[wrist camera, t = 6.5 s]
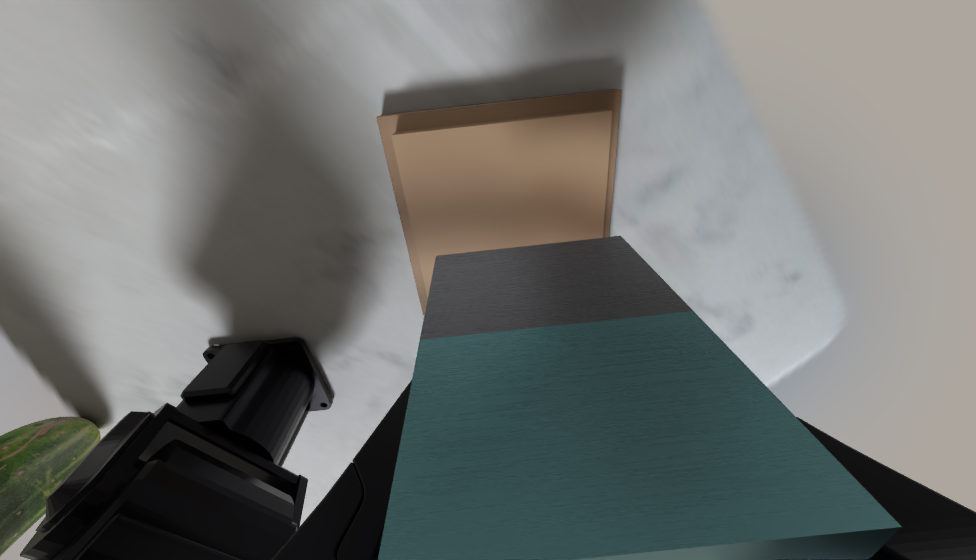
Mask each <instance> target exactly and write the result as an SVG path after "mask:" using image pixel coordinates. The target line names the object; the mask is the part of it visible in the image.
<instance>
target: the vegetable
mask: <svg viewBox="0 0 976 560" xmlns="http://www.w3.org/2000/svg"><path fill="white" fill-rule="evenodd" d="M99 441H100V431H99V429H98V428H97V426H96V425H95V424H94V423H92V422H91V421H89V420H87V419H84V418H80V417H58V418H51V419H46V420H42V421H38V422H34V423H31V424H28V425H25V426H22V427H20V428H18V429H15V430H13V431H10V432H8V433H6V434H4V435H2V436H0V556H1V555H2V554H3V553H4V552H5V551H6V550H7V549H8V548H9V547H10V546H11V545H12V544H13V543H14V542H15V541H16V540H17V539H18V538H19V537H21V536H22V535H23V534H24V533H25V532H26V531H27V530H28V529H29V528H30V527H31V526H32V525H33V524H34V523H35V522H37V520H39V518H41V517H42V516H43V515H44V514H45V513H46V498H47V497H48V496H49V495H50V494H51V493H52V492H53V491H54V490H55V489H56V487H57V486H58V485H59V484H60V483H61V482H62V481H63V480H64V479H65V478H66V476H67V475H68V474H69V473H70V472H71V471H72V470H73V469H74V468H75V467H76V466H77V464H78V463H79V462H80V461H81V460H82V459H83V458H84V457H85V456H86V455H87V454H88V453H89V452H90V450H91V449H92V448H93V447H94V446H95V445H96V444H97V443H98V442H99Z"/></svg>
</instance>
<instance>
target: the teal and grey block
mask: <svg viewBox="0 0 976 560" xmlns="http://www.w3.org/2000/svg"><path fill="white" fill-rule="evenodd" d="M900 528H901V525H900V524H899V523H898V522H897V521H896V520H895V519H894V518H893V517H892V516H891V515H890V514H889V513H888V512H887V511H886V510H885V509H884V508H883V507H882V506H881V505H880V504H879V503H878V502H877V501H876V500H875V499H874V498H873V497H872V495H871V494H870V493H869V492H868V491H867V490H866V489H865V488H864V487H863V486H862V485H861V484H860V483H859V482H858V481H857V480H856V479H855V478H854V477H853V476H852V475H851V474H850V473H849V472H848V471H847V470H846V469H845V468H844V467H843V465H842V464H841V463H840V462H839V461H838V460H837V459H836V458H835V457H834V456H833V455H832V454H831V453H830V452H829V451H828V450H827V449H826V448H825V447H824V446H823V445H822V444H821V443H820V442H819V441H818V440H817V439H816V438H815V437H814V435H813V434H812V433H811V432H810V431H809V430H808V429H807V428H806V427H805V426H804V425H803V424H802V423H801V422H800V421H799V420H798V419H797V418H796V417H795V416H794V415H793V414H792V413H791V412H790V411H789V410H788V409H787V408H786V407H785V405H784V404H783V403H782V402H781V401H780V400H779V399H778V398H777V397H776V396H775V395H774V394H773V393H772V392H771V391H770V390H769V389H768V388H767V387H766V386H765V385H764V384H763V383H762V382H761V381H760V380H759V379H758V378H757V376H756V375H755V374H754V373H753V372H752V371H751V370H750V369H749V368H748V367H747V366H746V365H745V364H744V363H743V362H742V361H741V360H740V359H739V358H738V357H737V356H736V355H735V354H734V353H733V352H732V351H731V350H730V349H729V348H728V346H727V345H726V344H725V343H724V342H723V341H722V340H721V339H720V338H719V337H718V336H717V335H716V334H715V333H714V332H713V331H712V330H711V329H710V328H709V327H708V326H707V325H706V324H705V323H704V322H703V321H702V320H701V319H700V318H699V316H698V315H697V314H696V313H695V312H694V311H693V310H692V309H691V308H690V307H689V306H688V305H687V304H686V303H685V302H684V301H683V300H682V299H681V298H680V297H679V296H678V295H677V294H676V293H675V292H674V291H673V290H672V289H671V288H670V286H669V285H668V284H667V283H666V282H665V281H664V280H663V279H662V278H661V277H660V276H659V275H658V274H657V273H656V272H655V271H654V270H653V269H652V268H651V267H650V266H649V265H648V264H647V263H646V262H645V261H644V260H643V259H642V258H641V256H640V255H639V254H638V253H637V252H636V251H635V250H634V249H633V248H632V247H631V246H630V245H629V244H628V243H627V242H626V241H625V240H624V239H623V238H622V237H621V236H614V237H605V238H596V239H586V240H577V241H568V242H559V243H549V244H540V245H531V246H521V247H512V248H503V249H494V250H484V251H475V252H466V253H457V254H447V255H438V256H436V258H435V264H434V269H433V274H432V279H431V284H430V290H429V295H428V300H427V305H426V311H425V316H424V321H423V326H422V331H421V337H420V342H419V347H418V352H417V358H416V363H415V368H414V373H413V378H412V384H411V389H410V394H409V399H408V405H407V410H406V415H405V420H404V425H403V431H402V436H401V441H400V446H399V452H398V457H397V462H396V467H395V472H394V478H393V483H392V488H391V493H390V499H389V504H388V509H387V514H386V519H385V525H384V530H383V535H382V540H381V546H380V551H379V556H378V560H869V559H870V558H871V557H872V556H873V555H874V554H875V553H876V552H877V551H878V550H879V549H880V548H881V547H882V546H883V545H884V544H885V543H886V542H887V541H888V540H889V539H890V538H891V537H892V536H893V535H894V534H895V533H896V532H897V531H898V530H899V529H900Z"/></svg>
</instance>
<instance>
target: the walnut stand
mask: <svg viewBox="0 0 976 560" xmlns="http://www.w3.org/2000/svg"><path fill="white" fill-rule="evenodd" d="M621 91H622V90H621V89H609V90H600V91H591V92H582V93H574V94H565V95H556V96H547V97H538V98H529V99H520V100H511V101H502V102H494V103H485V104H476V105H467V106H458V107H449V108H440V109H431V110H423V111H414V112H405V113H396V114H387V115H380V116H378V117H376V118H377V122H378V126H379V130H380V134H381V139H382V143H383V147H384V151H385V155H386V160H387V164H388V168H389V172H390V177H391V181H392V185H393V189H394V193H395V198H396V202H397V206H398V210H399V214H400V219H401V223H402V227H403V231H404V236H405V240H406V244H407V248H408V252H409V257H410V261H411V265H412V269H413V273H414V278H415V282H416V286H417V290H418V295H419V299H420V303H421V307H422V311H423V315H425V311H426V305H427V300H428V295H429V290H430V284H431V279H432V274H433V269H434V264H435V258H436V256H438V255H447V254H457V253H466V252H475V251H484V250H494V249H503V248H512V247H521V246H531V245H540V244H549V243H559V242H568V241H577V240H586V239H596V238H605V237H609V231H610V219H611V207H612V196H613V184H614V172H615V161H616V149H617V137H618V126H619V114H620V102H621Z"/></svg>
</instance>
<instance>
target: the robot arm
mask: <svg viewBox="0 0 976 560" xmlns="http://www.w3.org/2000/svg"><path fill="white" fill-rule="evenodd" d="M295 345H297V346H295ZM203 356H204V358H205V360H206V361H207V363H208V364H207V365H206V367H205V368H204V369H203V370H202V371H201V372H200V373H199V374H198V375H197V376H196V377H195V378H194V380H193V381H192V382H191V383H190V384H189V385H188V386H187V387H186V388H185V389H184V390H183V392H182V394H181V397H182V399H183V400H182V402H181V403H180V404H179V405H178V406H177V407H174V406H172V405H170V404H168V403H166V404H165V405H163V406H162V407H161V408H159V409H158V410H157V411H155V412H154V413H151V412H132V411H131V412H130V413H129V414H128V415H126V416H125V417H124V418H123V419H122V420H121V421H120V422H119V423H118V424H117V425H116V426H115V427H114V428H113V429H112V430H111V431H110V432H109V433H108V434H107V435H106V436H104V437H103V438H102V439H101V440H100V441H99V442H98V443H97V444H96V445H95V446H94V447H93V448H92V449H91V450H90V452H89V453H88V454H87V455H86V456H85V457H84V458H83V459H82V460H81V461H80V462H79V463H78V464H77V466H76V467H75V468H74V469H73V470H72V471H71V472H70V473H69V474H68V475H67V476H66V478H65V479H64V480H63V481H62V482H61V483H60V484H59V485H58V486H57V487H56V489H55V490H54V491H53V492H52V493H51V494H50V495H49V496H48V497H47V498H46V517H45V518H44V520H43V521H42V522H41V524H40V525H39V526H38V528H37V529H36V531H37V532H36V534H35V535H34V536H33V538H32V539H31V540H30V541H29V543H28V544H27V545H26V547H25V548H24V549H23V551H22V552H21V554H20V556H21V557H24V558H28V559H31V560H378V556H379V551H380V546H381V540H382V535H383V530H384V525H385V519H386V514H387V509H388V504H389V499H390V493H391V488H392V483H393V478H394V472H395V467H396V462H397V457H398V452H399V446H400V441H401V436H402V431H403V425H404V420H405V415H406V410H407V405H408V399H409V394H410V389H411V384H412V380H411V382H410V383H409V384H408V386H407V387H406V388H405V390H404V391H403V392H402V394H401V395H400V397H399V398H398V399H397V401H396V402H395V403H394V405H393V406H392V407H391V409H390V410H389V411H388V413H387V414H386V416H385V417H384V418H383V420H382V421H381V422H380V424H379V425H378V426H377V428H376V429H375V431H374V432H373V433H372V435H371V436H370V437H369V439H368V440H367V441H366V443H365V444H364V445H363V447H362V448H361V450H360V451H359V452H358V454H357V455H356V456H355V458H354V459H353V463H350V464H349V466H348V467H347V468H346V470H345V471H344V472H343V474H342V475H341V477H340V478H339V479H338V480H337V482H336V483H335V484H334V486H333V487H332V488H331V490H330V491H329V492H328V493H327V495H326V496H325V497H324V499H323V500H322V501H321V502H320V503H319V505H318V506H317V507H316V508H315V509H314V511H313V512H312V513H311V514H310V515H309V517H308V518H307V519H306V520H305V521H304V522H303V524H302V525H301V526H300V520H301V515H302V510H303V504H304V499H305V493H306V488H307V482H308V479H307V478H305V477H303V476H301V475H299V476H298V475H296V474H294V473H292V472H290V471H288V470H286V469H285V468H283V467H282V465H283V463H284V461H285V459H286V457H287V455H288V453H289V451H290V449H291V447H292V445H293V443H294V441H295V438H296V436H297V434H298V432H299V430H300V428H301V426H302V424H303V422H304V420H305V418H306V416H307V414H308V412H309V411H318V410H327V409H329V408H330V407H331V405H332V403H333V400H332V398H331V396H330V394H329V392H328V389H327V387H326V385H325V383H324V381H323V379H322V377H321V375H320V373H319V370H318V368H317V366H316V364H315V362H314V360H313V358H312V356H311V354H310V352H309V349H308V347H307V345H306V343H305V342H304V340H302V339H300V338H287V339H277V340H268V341H254V342H245V343H236V344H227V345H220V346H211V347H209V348H208V349H207V350H206V351H205V352H204V353H203ZM796 418H797V419H798V420H799V421H800V422H801V423H802V424H803V425H804V426H805V427H806V428H807V429H808V430H809V431H810V432H811V433H812V434H813V435H814V437H815V438H816V439H817V440H818V441H819V442H820V443H821V444H822V445H823V446H824V447H825V448H826V449H827V450H828V451H829V452H830V453H831V454H832V455H833V456H834V457H835V458H836V459H837V460H838V461H839V462H840V463H841V464H842V465H843V467H844V468H845V469H846V470H847V471H848V472H849V473H850V474H851V475H852V476H853V477H854V478H855V479H856V480H857V481H858V482H859V483H860V484H861V485H862V486H863V487H864V488H865V489H866V490H867V491H868V492H869V493H870V494H871V495H872V497H873V498H874V499H875V500H876V501H877V502H878V503H879V504H880V505H881V506H882V507H883V508H884V509H885V510H886V511H887V512H888V513H889V514H890V515H891V516H892V517H893V518H894V519H895V520H896V521H897V522H898V523H899V524H900V525H901V528H900V529H899V530H898V531H897V532H896V533H895V534H894V535H893V536H892V537H891V538H890V539H889V540H888V541H887V542H886V543H885V544H884V545H883V546H882V547H881V548H880V549H879V550H878V551H877V552H876V553H875V554H874V555H873V556H872V557H871V558H870V559H869V560H976V512H974V511H972V510H970V509H968V508H966V507H964V506H962V505H961V504H958V503H957V502H955V501H953V500H951V499H949V498H947V497H945V496H943V495H941V494H939V493H937V492H935V491H933V490H931V489H929V488H928V487H926V486H924V485H922V484H919V483H918V482H916V481H914V480H912V479H910V478H908V477H906V476H904V475H902V474H900V473H898V472H896V471H894V470H892V469H891V468H889V467H887V466H885V465H883V464H881V463H879V462H877V461H875V460H873V459H872V458H870V457H868V456H866V455H864V454H862V453H860V452H858V451H857V450H855V449H853V448H851V447H849V446H847V445H845V444H844V443H842V442H840V441H838V440H836V439H835V438H833V437H831V436H829V435H828V434H826V433H824V432H822V431H820V430H819V429H817V428H815V427H814V426H812V425H810V424H808V423H807V422H805V421H803V420H802V419H800V418H798V417H796ZM299 526H300V527H299Z"/></svg>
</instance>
